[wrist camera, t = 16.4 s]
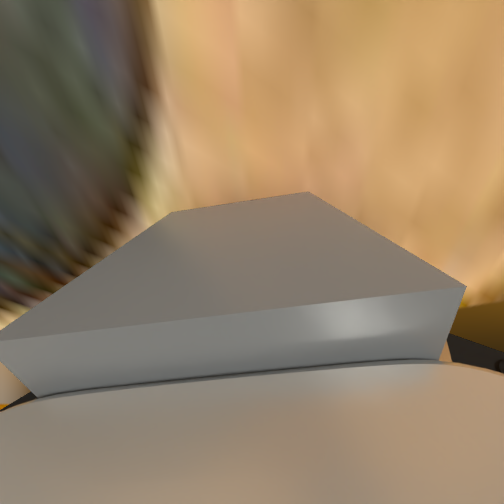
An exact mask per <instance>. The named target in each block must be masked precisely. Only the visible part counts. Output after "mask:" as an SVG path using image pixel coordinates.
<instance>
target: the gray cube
mask: <svg viewBox="0 0 504 504" xmlns="http://www.w3.org/2000/svg"><path fill="white" fill-rule="evenodd" d="M466 287H467V286H465V285H464V284H462V283H460V282H459V281H457V280H455V279H454V278H452V277H450V276H449V275H447V274H445V273H444V272H442V271H440V270H439V269H437V268H435V267H434V266H432V265H430V264H429V263H427V262H425V261H424V260H422V259H420V258H419V257H417V256H415V255H413V254H412V253H410V252H408V251H407V250H405V249H403V248H402V247H400V246H398V245H397V244H395V243H393V242H392V241H390V240H388V239H387V238H385V237H383V236H382V235H380V234H378V233H377V232H375V231H373V230H372V229H370V228H368V227H367V226H365V225H363V224H362V223H360V222H358V221H357V220H355V219H353V218H352V217H350V216H348V215H347V214H345V213H343V212H342V211H340V210H338V209H337V208H335V207H333V206H332V205H330V204H328V203H327V202H325V201H323V200H322V199H320V198H318V197H317V196H315V195H313V194H312V193H310V192H303V193H296V194H289V195H283V196H276V197H269V198H263V199H256V200H250V201H243V202H236V203H230V204H223V205H216V206H210V207H203V208H197V209H190V210H183V211H177V212H171V213H170V214H168V215H167V216H165V217H164V218H162V219H161V220H160V221H158V222H157V223H155V224H154V225H152V226H151V227H149V228H148V229H147V230H145V231H144V232H142V233H141V234H139V235H138V236H136V237H135V238H133V239H132V240H131V241H129V242H128V243H126V244H125V245H123V246H122V247H120V248H119V249H118V250H116V251H115V252H113V253H112V254H110V255H109V256H107V257H106V258H105V259H103V260H102V261H100V262H99V263H97V264H96V265H94V266H93V267H91V268H90V269H89V270H87V271H86V272H84V273H83V274H81V275H80V276H78V277H77V278H76V279H74V280H73V281H71V282H70V283H68V284H67V285H65V286H64V287H63V288H61V289H60V290H58V291H57V292H55V293H54V294H52V295H51V296H50V297H48V298H47V299H45V300H44V301H42V302H41V303H39V304H38V305H36V306H35V307H34V308H32V309H31V310H29V311H28V312H26V313H25V314H23V315H22V316H21V317H19V318H18V319H16V320H15V321H13V322H12V323H10V324H9V325H8V326H6V327H5V328H3V329H2V330H0V362H1V363H3V364H4V365H5V366H6V367H7V368H8V369H9V370H10V371H11V372H12V373H13V374H14V375H15V376H16V377H17V378H18V379H19V380H20V381H21V382H22V383H23V384H24V385H25V386H26V387H27V388H28V389H29V390H30V391H31V392H32V393H33V394H34V395H35V396H36V397H37V398H43V397H48V396H52V395H56V394H62V393H68V392H75V391H82V390H89V389H97V388H106V387H116V386H125V385H135V384H144V383H154V382H163V381H173V380H183V379H193V378H203V377H213V376H223V375H233V374H243V373H253V372H263V371H273V370H284V369H294V368H305V367H316V366H326V365H337V364H347V363H360V362H370V361H387V360H406V359H419V360H439V358H440V356H441V353H442V350H443V348H444V345H445V342H446V340H447V337H448V334H449V332H450V329H451V326H452V324H453V321H454V318H455V316H456V313H457V310H458V308H459V305H460V303H461V300H462V297H463V295H464V292H465V289H466Z"/></svg>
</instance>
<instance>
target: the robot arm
mask: <svg viewBox="0 0 504 504" xmlns="http://www.w3.org/2000/svg"><path fill="white" fill-rule="evenodd" d="M0 504H504V352H501V351H498V350H495V349H492V348H489V347H487V346H484V345H481V344H478V343H475V342H472V341H470V340H467V339H464V338H461V337H458V336H455V335H452V334H450V333H449V334H448V337H447V340H446V342H445V345H444V348H443V350H442V353H441V356H440V358H439V360H419V359H406V360H387V361H370V362H360V363H347V364H337V365H326V366H316V367H305V368H294V369H284V370H273V371H263V372H253V373H243V374H233V375H223V376H213V377H203V378H193V379H183V380H173V381H163V382H154V383H144V384H135V385H125V386H116V387H106V388H97V389H89V390H82V391H75V392H68V393H62V394H56V395H52V396H48V397H43V398H37V397H36V396H35V395H34V394H33V393H32V392H30V393H28V394H26V395H25V396H23V397H21V398H20V399H18V400H16V401H15V402H13V403H11V404H9V405H8V406H6V407H4V408H3V409H1V410H0Z"/></svg>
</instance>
